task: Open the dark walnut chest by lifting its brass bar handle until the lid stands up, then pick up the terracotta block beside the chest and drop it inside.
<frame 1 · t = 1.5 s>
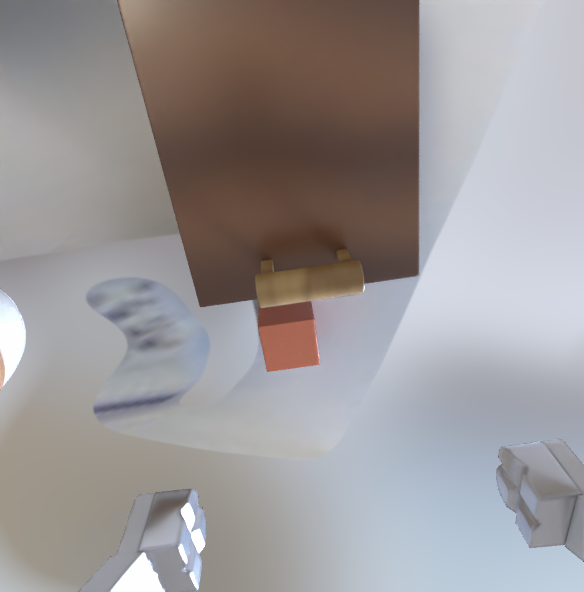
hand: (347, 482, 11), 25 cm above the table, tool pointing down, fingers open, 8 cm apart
block: (287, 318, 38), on the table
lid: (292, 159, 21), point 12 cm above the table, hinge at 0.0°
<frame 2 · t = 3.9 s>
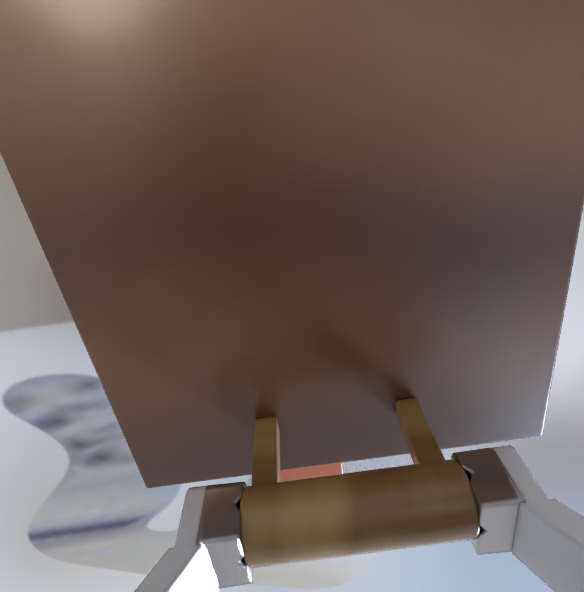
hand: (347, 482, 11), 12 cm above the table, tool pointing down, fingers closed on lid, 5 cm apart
block: (297, 424, 27), on the table
lid: (322, 262, 9), point 11 cm above the table, hinge at -0.1°, touching gripper
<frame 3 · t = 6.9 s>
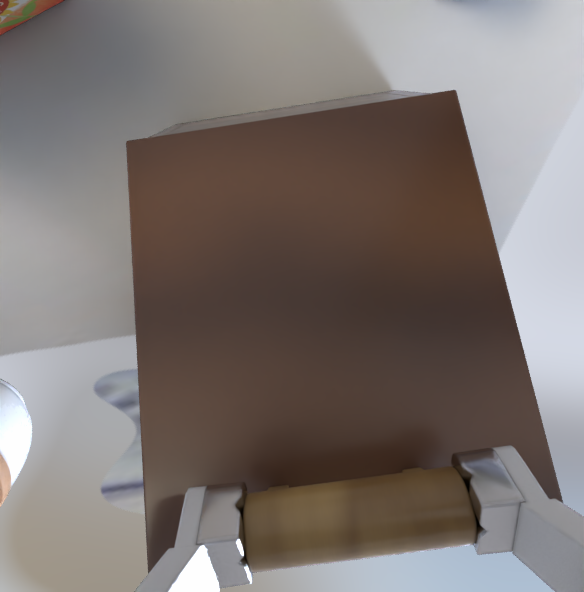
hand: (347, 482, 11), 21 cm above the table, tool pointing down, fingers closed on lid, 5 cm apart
chest: (300, 228, 30), on the table
lid: (319, 300, 14), point 16 cm above the table, hinge at 40.4°, touching gripper
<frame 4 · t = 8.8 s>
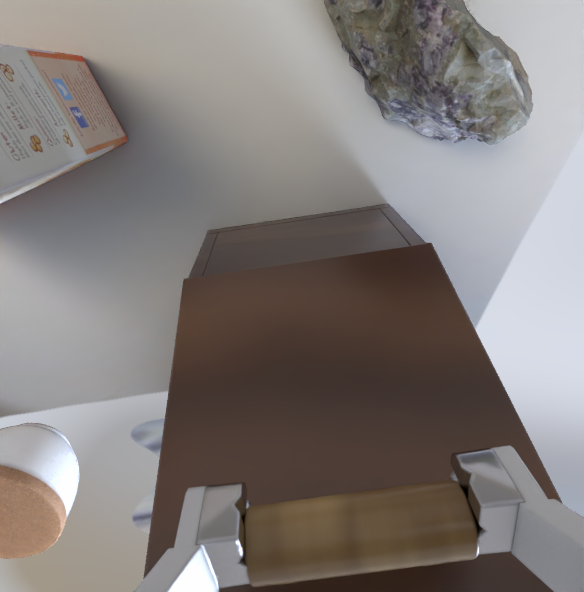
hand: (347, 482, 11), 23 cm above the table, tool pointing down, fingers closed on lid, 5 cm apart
cracker box: (20, 140, 29), on the table
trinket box: (40, 444, 41), on the table
mineral rock: (412, 39, 27), on the table
chest: (310, 307, 35), on the table
lid: (326, 368, 16), point 18 cm above the table, hinge at 71.2°, touching gripper
when the fingers open (9 cm above the table, at t = 23.8 s): block drops 6 cm, resting on chest.
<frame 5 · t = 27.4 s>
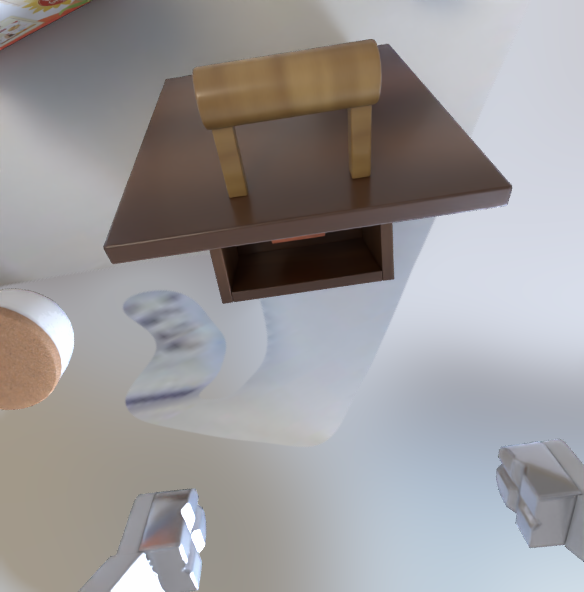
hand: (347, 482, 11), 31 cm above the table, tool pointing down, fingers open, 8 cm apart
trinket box: (37, 318, 44), on the table
chest: (289, 170, 38), on the table
lid: (281, 76, 19), point 18 cm above the table, hinge at 71.8°
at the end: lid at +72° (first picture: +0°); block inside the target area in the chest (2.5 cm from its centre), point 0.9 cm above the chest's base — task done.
